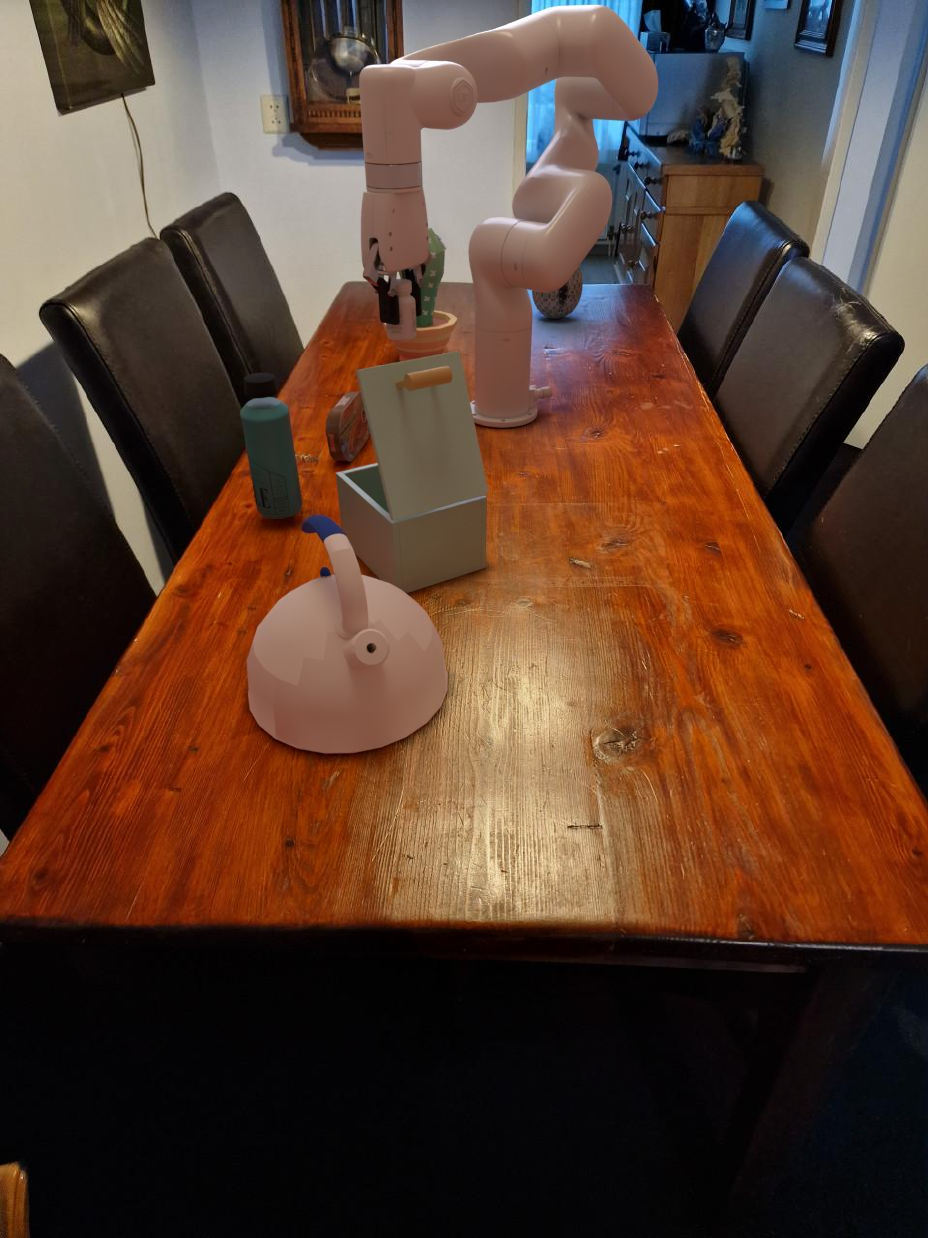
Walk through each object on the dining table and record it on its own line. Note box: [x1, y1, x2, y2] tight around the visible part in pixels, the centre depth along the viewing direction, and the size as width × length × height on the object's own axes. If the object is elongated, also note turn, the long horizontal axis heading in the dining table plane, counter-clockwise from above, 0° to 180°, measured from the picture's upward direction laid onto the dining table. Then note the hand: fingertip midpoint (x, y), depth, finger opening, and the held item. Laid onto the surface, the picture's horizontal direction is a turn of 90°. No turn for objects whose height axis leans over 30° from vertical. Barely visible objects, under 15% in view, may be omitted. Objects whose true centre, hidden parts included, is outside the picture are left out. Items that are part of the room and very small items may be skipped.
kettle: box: [246, 514, 449, 754], centre depth 78 cm, size 20×21×18 cm
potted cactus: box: [381, 227, 458, 362], centre depth 162 cm, size 15×15×25 cm
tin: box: [325, 391, 371, 463], centre depth 129 cm, size 15×3×8 cm, turn 168°
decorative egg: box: [531, 266, 584, 320], centre depth 190 cm, size 12×12×15 cm
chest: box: [335, 462, 488, 594], centre depth 102 cm, size 16×13×10 cm
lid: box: [355, 350, 489, 520], centre depth 90 cm, size 16×13×5 cm
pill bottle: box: [386, 278, 417, 341], centre depth 118 cm, size 4×4×8 cm
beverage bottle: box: [239, 372, 303, 520], centre depth 107 cm, size 6×7×20 cm
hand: (401, 317), depth 118 cm, fingers closed on pill bottle, 4 cm apart
